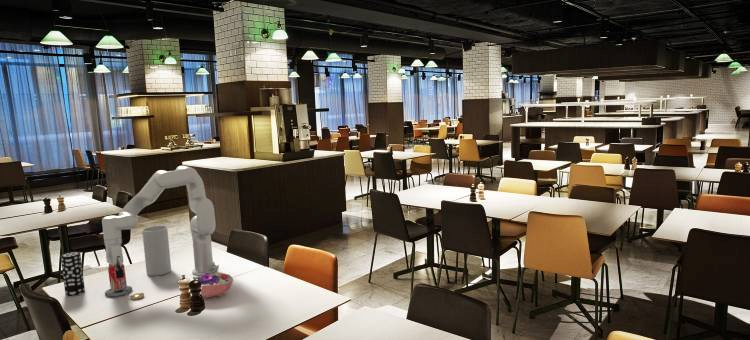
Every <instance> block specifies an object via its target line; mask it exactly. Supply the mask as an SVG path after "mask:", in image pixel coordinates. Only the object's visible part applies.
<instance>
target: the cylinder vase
mask: <svg viewBox="0 0 750 340" xmlns="http://www.w3.org/2000/svg"><path fill="white" fill-rule="evenodd" d="M141 231H142V240H143V251H144V260H145V261H144V262H145V263H144V264H145V269H146V270H145V271H146V274H147V276H150V277H156V276H157V277H158V276H162V275H167V274H168V273H170V272H171V271H172V263H171V254H170V242H169V231H168V226H167V225H153V226H147V227H144V228H142V230H141Z"/></svg>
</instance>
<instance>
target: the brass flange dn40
mask: <svg viewBox="0 0 750 340" xmlns="http://www.w3.org/2000/svg"><path fill="white" fill-rule="evenodd" d="M129 298H130V300H131V301H138V300H141V299H143V298H145V293H143V292H137V293H133V294H131V295H130V296H129Z"/></svg>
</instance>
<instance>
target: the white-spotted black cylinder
mask: <svg viewBox="0 0 750 340" xmlns="http://www.w3.org/2000/svg"><path fill="white" fill-rule="evenodd" d="M60 263H61V271H62V279H63V286H64V293H65V294H64V295H65V296H66V297H76V296H79V295H82V294H84V293H86V289H85V280H84V279H85V278H84V271H83V264H82V257H81V252H80V251H73V252H72V251H70V252H66V253H63V254H61V255H60Z"/></svg>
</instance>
